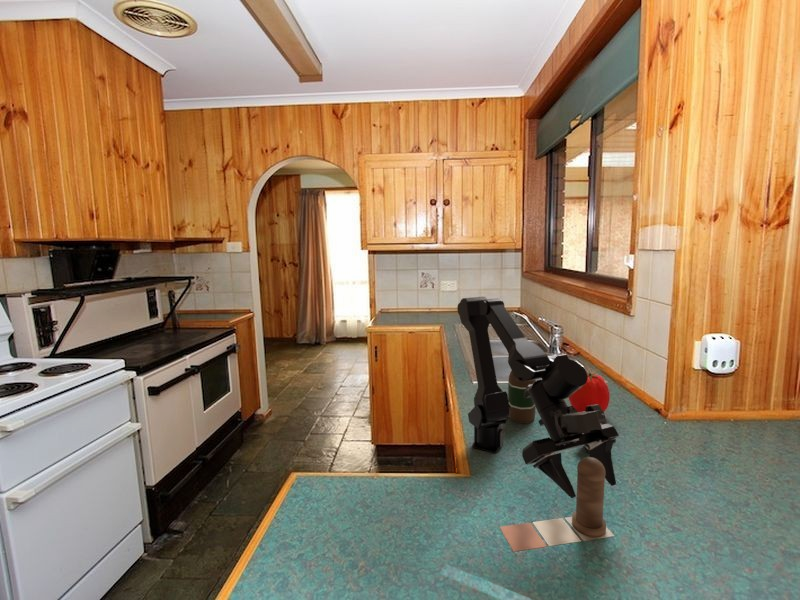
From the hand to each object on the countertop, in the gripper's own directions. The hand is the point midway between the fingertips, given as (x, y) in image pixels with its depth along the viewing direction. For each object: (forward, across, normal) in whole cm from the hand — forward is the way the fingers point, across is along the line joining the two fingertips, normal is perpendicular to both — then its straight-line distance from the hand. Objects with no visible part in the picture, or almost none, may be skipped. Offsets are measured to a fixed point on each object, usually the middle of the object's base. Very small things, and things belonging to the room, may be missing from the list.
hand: (594, 491), depth 71 cm
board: (+5, -6, +8) cm, 11 cm away
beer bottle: (-26, +18, +38) cm, 49 cm away
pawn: (+5, 0, +6) cm, 8 cm away
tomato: (-21, +37, +34) cm, 55 cm away
